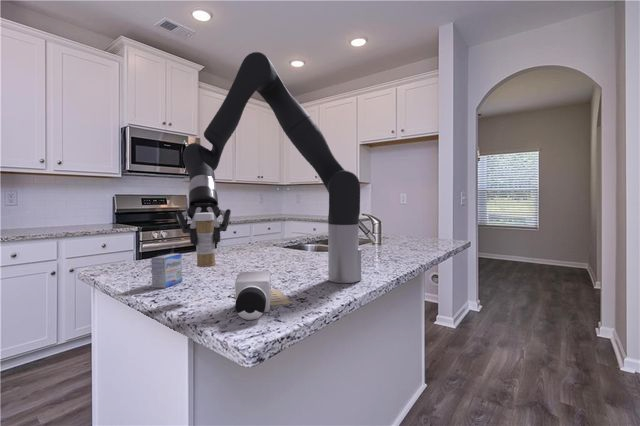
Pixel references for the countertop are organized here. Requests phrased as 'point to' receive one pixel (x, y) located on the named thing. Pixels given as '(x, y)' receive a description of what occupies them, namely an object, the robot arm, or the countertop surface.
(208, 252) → the sprinkles bottle
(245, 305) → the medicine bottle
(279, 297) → the letter
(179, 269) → the medicine box
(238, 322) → the countertop surface
